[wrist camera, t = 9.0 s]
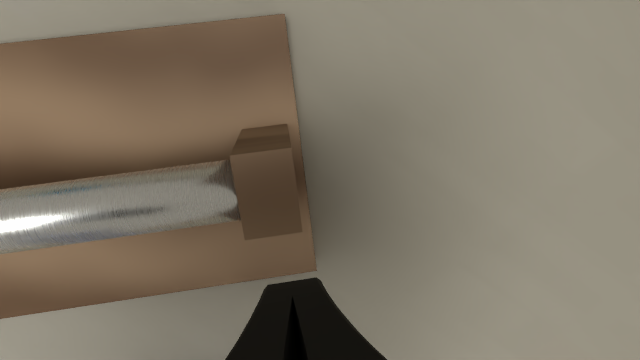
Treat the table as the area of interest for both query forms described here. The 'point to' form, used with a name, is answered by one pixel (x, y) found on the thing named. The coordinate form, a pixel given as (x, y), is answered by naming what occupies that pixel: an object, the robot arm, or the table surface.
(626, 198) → the table surface
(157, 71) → the pipe stand
